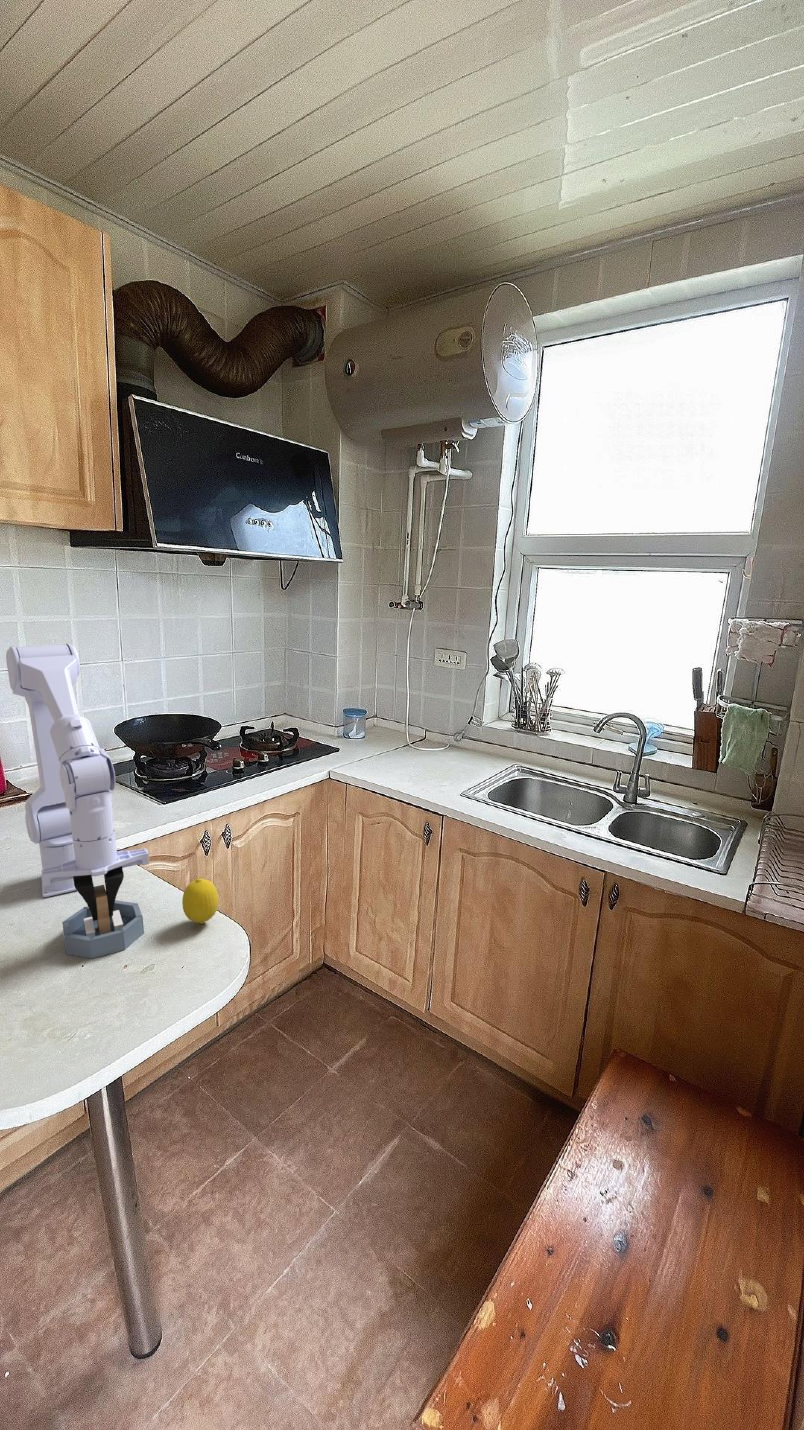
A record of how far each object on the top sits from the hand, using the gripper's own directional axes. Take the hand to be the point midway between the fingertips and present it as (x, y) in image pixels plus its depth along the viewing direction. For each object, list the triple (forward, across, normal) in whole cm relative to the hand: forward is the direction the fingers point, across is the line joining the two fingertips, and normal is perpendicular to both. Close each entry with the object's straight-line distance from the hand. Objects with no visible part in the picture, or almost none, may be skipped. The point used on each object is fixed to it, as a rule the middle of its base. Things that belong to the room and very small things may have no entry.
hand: (102, 915), depth 94 cm
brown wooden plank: (+3, 0, 0) cm, 3 cm away
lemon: (+4, +14, -4) cm, 15 cm away
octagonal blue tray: (+4, 0, 0) cm, 4 cm away
